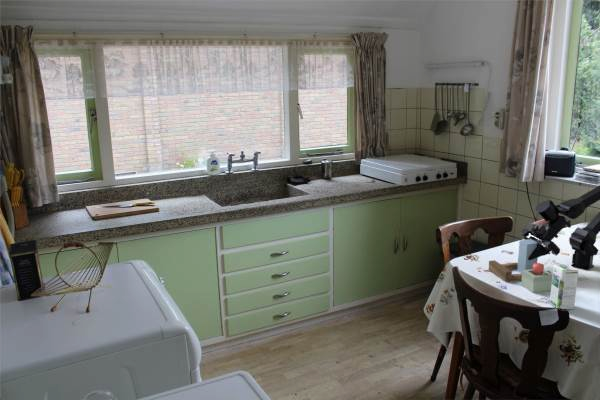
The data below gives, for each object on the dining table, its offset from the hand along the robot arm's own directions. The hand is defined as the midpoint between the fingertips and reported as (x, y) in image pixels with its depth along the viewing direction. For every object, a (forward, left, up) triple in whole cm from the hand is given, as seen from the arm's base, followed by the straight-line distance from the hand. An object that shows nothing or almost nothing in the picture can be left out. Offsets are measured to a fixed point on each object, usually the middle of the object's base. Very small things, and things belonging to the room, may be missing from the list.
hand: (524, 257), depth 203 cm
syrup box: (-23, +19, -7) cm, 31 cm away
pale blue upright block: (-1, -1, -7) cm, 7 cm away
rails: (0, +1, -7) cm, 7 cm away
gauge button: (-10, +10, -1) cm, 14 cm away
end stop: (+5, +9, -7) cm, 12 cm away
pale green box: (-10, +10, -7) cm, 16 cm away
